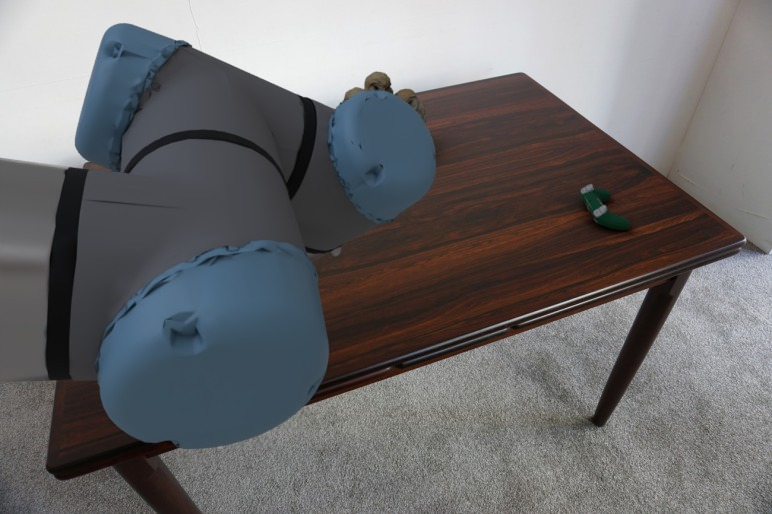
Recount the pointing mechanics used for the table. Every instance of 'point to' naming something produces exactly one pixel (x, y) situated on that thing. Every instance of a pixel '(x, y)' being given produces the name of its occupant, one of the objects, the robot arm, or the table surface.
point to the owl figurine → (382, 83)
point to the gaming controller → (602, 208)
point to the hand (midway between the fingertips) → (198, 288)
